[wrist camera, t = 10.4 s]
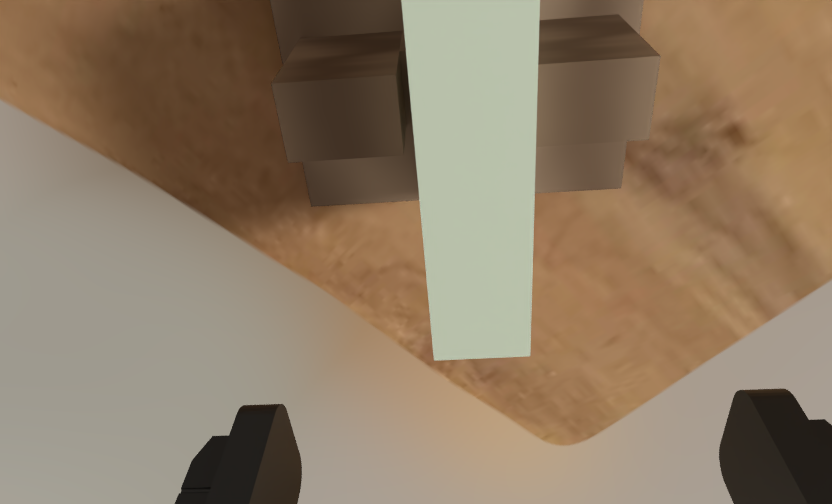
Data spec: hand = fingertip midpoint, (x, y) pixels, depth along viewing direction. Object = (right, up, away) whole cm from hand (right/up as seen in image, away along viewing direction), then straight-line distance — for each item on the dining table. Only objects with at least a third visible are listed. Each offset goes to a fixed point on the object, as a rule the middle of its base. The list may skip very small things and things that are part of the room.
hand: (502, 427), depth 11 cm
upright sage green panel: (0, +12, +17) cm, 21 cm away
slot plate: (0, +12, +18) cm, 22 cm away
